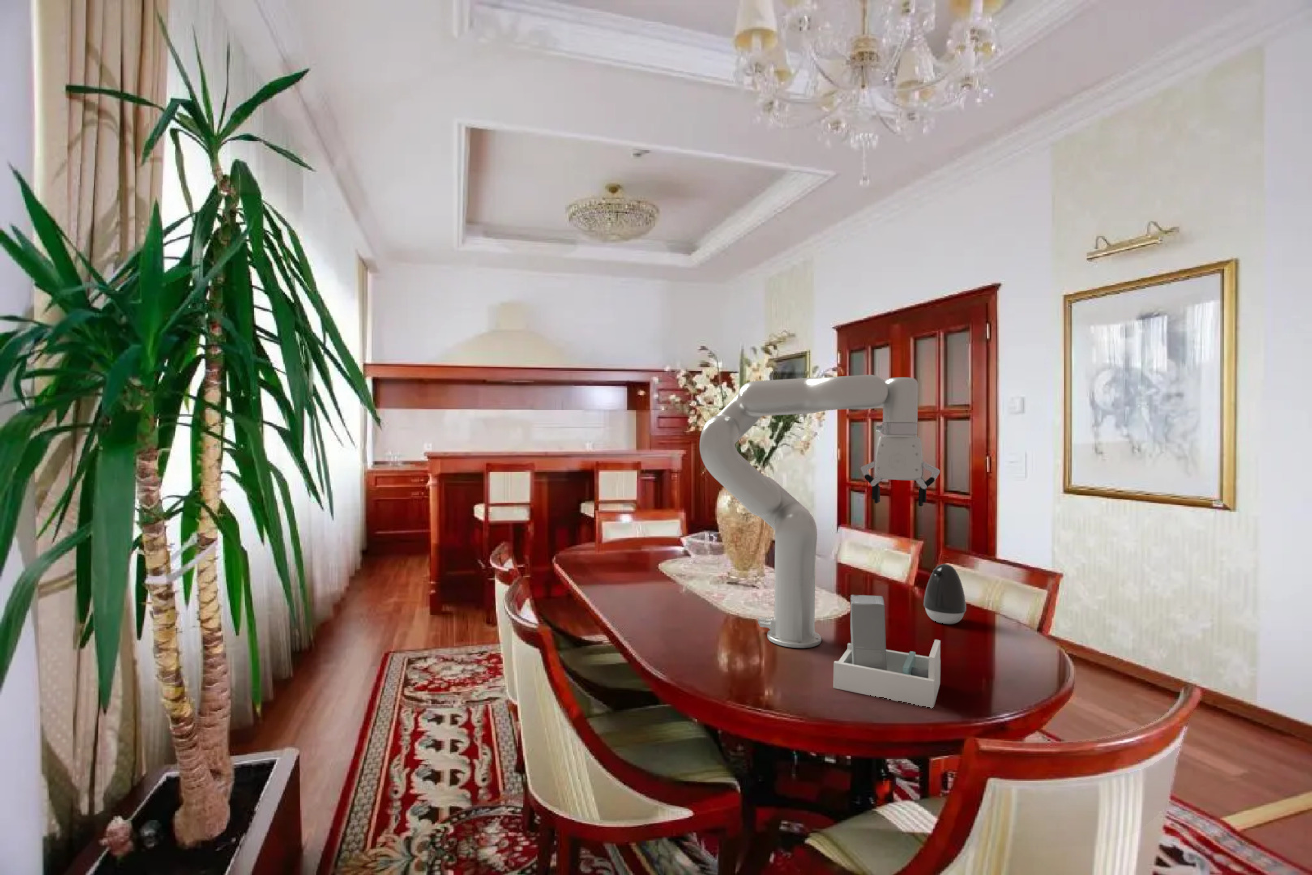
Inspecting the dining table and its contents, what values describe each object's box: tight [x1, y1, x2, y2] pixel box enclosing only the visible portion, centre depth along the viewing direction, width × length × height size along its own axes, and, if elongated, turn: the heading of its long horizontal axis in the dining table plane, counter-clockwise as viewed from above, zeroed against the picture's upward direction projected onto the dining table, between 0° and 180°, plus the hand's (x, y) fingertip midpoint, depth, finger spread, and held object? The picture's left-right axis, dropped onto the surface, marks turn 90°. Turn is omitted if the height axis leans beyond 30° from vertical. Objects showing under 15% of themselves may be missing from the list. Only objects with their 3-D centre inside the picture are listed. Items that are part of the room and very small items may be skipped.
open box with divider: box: [832, 639, 941, 709], centre depth 125 cm, size 18×13×9 cm
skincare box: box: [849, 594, 887, 671], centre depth 126 cm, size 8×7×16 cm
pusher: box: [903, 650, 929, 678], centre depth 122 cm, size 4×10×5 cm, turn 151°
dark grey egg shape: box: [923, 563, 967, 625], centre depth 167 cm, size 10×10×15 cm
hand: (898, 504), depth 147 cm, fingers open, 9 cm apart
